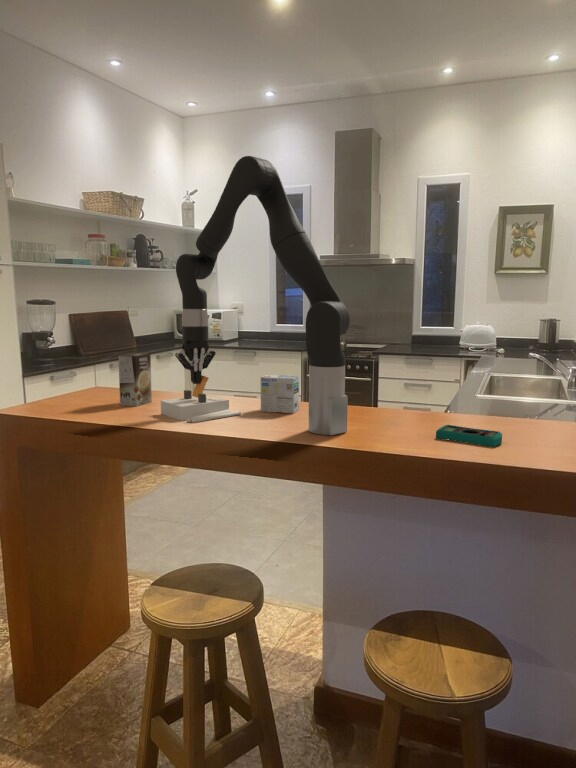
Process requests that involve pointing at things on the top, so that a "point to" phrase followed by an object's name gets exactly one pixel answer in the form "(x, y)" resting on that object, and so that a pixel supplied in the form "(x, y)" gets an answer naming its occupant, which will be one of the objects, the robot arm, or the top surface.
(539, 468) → the top surface
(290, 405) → the light bulb box
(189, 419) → the pale grey thin bar
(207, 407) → the box
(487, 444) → the digital multimeter
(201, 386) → the lever
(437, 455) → the top surface
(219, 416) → the light grey rod
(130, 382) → the coffee box
